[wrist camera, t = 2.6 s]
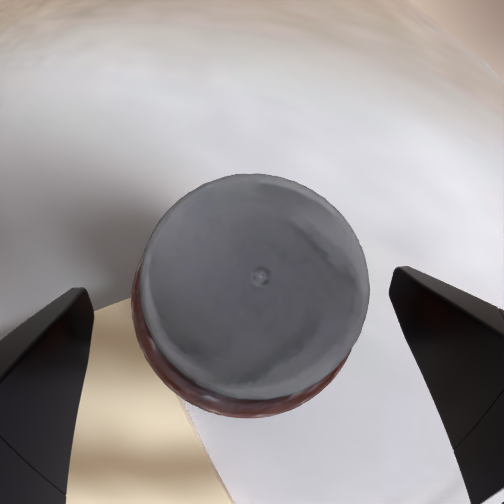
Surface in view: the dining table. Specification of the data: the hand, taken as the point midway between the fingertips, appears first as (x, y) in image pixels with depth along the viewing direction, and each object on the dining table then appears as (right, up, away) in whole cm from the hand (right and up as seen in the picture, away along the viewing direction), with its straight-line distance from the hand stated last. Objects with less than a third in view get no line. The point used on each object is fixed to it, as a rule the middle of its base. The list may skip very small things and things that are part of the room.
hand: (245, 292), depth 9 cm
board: (-8, -10, +4) cm, 14 cm away
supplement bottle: (-1, -3, +7) cm, 8 cm away
